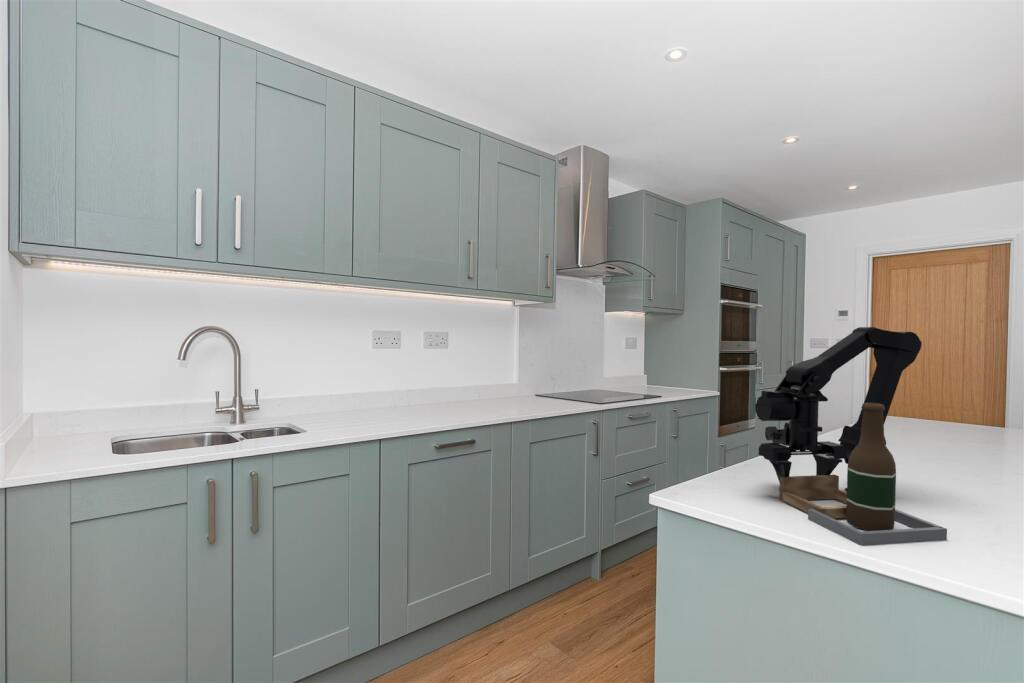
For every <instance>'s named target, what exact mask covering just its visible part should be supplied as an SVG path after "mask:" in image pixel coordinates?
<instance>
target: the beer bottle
mask: <svg viewBox="0 0 1024 683" xmlns="http://www.w3.org/2000/svg"><path fill="white" fill-rule="evenodd" d="M862 409H863V417H862V427H861V436H860V440H859V444H858V445H857V446H856V447H855V448H854V450H853V451H852V452H851V455H850V457H849V460H848V464H847V472H846V473H847V476H846V477H847V478H846V488H847V491H846V492H847V503H846V506H847V507H846V515H847V518H846V522H847V524H849V525H850V526H851V527H853V528H855V529H857V530H861V531H880V530H894V528H895V522H896V521H895V509H896V487H897V470H896V469H897V466H896V461H895V459H894V457H893V454H892V453H891V451H890V449H889V448H888V447H887V443H886V444H885V440H886V438H885V439H884V436H885V427H884V426H885V423H884V422H883V411H884V410H885V408H884V405H882V404H879V403H864V402H863V403H862V405H861V410H862Z"/></svg>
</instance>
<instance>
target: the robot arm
mask: <svg viewBox="0 0 1024 683" xmlns="http://www.w3.org/2000/svg"><path fill="white" fill-rule="evenodd" d="M867 349H873V357H874V360H875V364H876V367H875V370H874V372H873V375H872V378H871V381H870V383H869V384H870V385H869V386H868V390H867V392H866V396H865V399H864V401H863V404H864V403H879V404H882V405H884V408H885V410H884V411H883V422H884V424H885V423H886V419H887V417H888V414H889V411H890V408H891V405H892V403H893V400H894V396H895V393H896V391H897V388H898V386H899V382H900V380H901V376H902V373H903V371H904V370H906V369H907V368H908V367H909V366H910V365H912V364H913V363H914V362H915V360H916V359H917V356H918V355H919V353H920V351H921V349H922V341H921V339H920V337H919V336H918V335H917V334H916V333H915V332H913V331H892V330H886V329H885V330H884V329H881V328H878V327H875V326H866V327H865V326H861V327H860V326H859V327H857V328H855V329H853V330H852V332H851V333H849V334H848V335H847V336H845V337H843V338H842V339H841V340H839V341H838V342H836V343H834V344H833V345H832V346H830V347H829V348H828V349H826V350H825V351H823V352H822V353H820V354H819V355H817V356H815V357H812V358H811V359H810V358H809V359H805V360H802V361H799V362H798V363H796V364H793V365H791V366H790V367H788V368H787V369H786V371H785V376H784V377H783V378H782V380H781V381H780V382H779V384H778V386H777V387H776V389H775V390H774V391H770V390H762V391H761V396H759V397H758V398H757V400H756V403H755V404H754V405H755V407H754V409H755V413H756V416H757V417H758V419H759V420H761V421H762V422H785V421H786V422H785V424H784V425H783V426H784V427H783V428H782V429H778V428H777V426H774V425H773V426H766V427H765V430H764V436H765V440H766V441H771V442H762V443H761V444H760V445H759V446H758V456H761V457H763V459H765V460H768V461H769V463H770V464H771V465H772V467H773V469H774V472H775V474H776V477H777V479H778V482H779V484H780V477H788V476H790V474H791V468H792V461H790V460H791V458H792V456H808V455H809V456H810V455H812V456H813V459H814V460H815V464H816V465H815V466H816V467H815V468H816V472H815V474H816V475H832V473H833V472H834V470H835V469H836V468H837V467H838V465H839V464H841V463H843V460H844V462H845V464H847V465H848V460H849V457H850V455H851V452H852V451H853V450H854V448H855V447H856V446H857V445H858V444H859V440H860V436H861V427H862V417H863V409H862V408H861V410H860V413H859V416H858V419H857V421H856V422H854V423H853V425H850V426H848V425H844V427H843V428H842V433H841V436H840V438H839V439H838V440H837V441H838V442H839V443H836V442H832V441H828V440H827V441H818V438H819V436H818V434H819V432H823V426H819V402H828V401H829V398H827V397H826V396H825V395H824V394H823V393H822V391H821V390H822V389H823V388H824V387H825V386H826V385H827V384H828V383H829V382H831V379H832V376H833V374H834V373H835V372H836V371H837V370H839V369H840V368H841V367H843V366H844V365H846V364H847V363H849V362H850V361H851V360H853V359H854V358H856V357H858V356H859V355H860V354H862V353H863V352H865V351H867ZM788 421H789V422H788ZM884 439H885V444H886V445H887V440H886V437H885V435H884ZM844 491H845V492H847V487H845V488H844Z"/></svg>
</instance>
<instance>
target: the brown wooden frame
mask: <svg viewBox="0 0 1024 683" xmlns="http://www.w3.org/2000/svg"><path fill="white" fill-rule="evenodd" d="M839 483H840V476H839V475H837V474H830V475H794V476H793V475H792V476H790V475H789V476H788V477H780V483H779V492H778V493H779V494H778V495H779V497H778V498H779V500H781V501H783V502H784V503H787V504H789V505H790V506H793V507H795V508H797V509H799V510H801V511H804V512H806V513H807V514H808V509H814V510H816V511H818V512H820V513H823V514H825V515H827V516H829V517H831V518H833V519H844V518H845V519H847V515H846V507H847V505H841V506H839V505H838V506H835V505H834V506H820V505H818V504H816V503H814V502H812V501H809V500H828V499H831V500H832V499H835V500H836V501H837V500H838V501H840V502H841V503H845V504H847V491H845V490H841V489H839V488H840V486H839V485H840V484H839Z"/></svg>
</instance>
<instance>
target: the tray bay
mask: <svg viewBox="0 0 1024 683" xmlns="http://www.w3.org/2000/svg"><path fill="white" fill-rule="evenodd" d="M807 519H808V520H809V521H811V522H813V523H816V524H817V525H819V526H821V527H823V528H825V529H827V530H830V531H831V532H833V533H835V534H838V535H839V536H842V537H844V538H845V539H848V540H850V541H852V542H853V543H855V544H858V545H860V546H873V545H874V546H875V545H885V544H901V543H902V544H903V543H904V544H905V543H916V542H917V543H918V542H931V541H932V542H933V541H947V540H948V538H947V537H948V528H945V527H943V526H941V525H938V524H935V523H932V522H930V521H927V520H925V519H922V518H920V517H917V516H916V515H915V516H914V515H912V514H910V513H906V512H904V511H902V510H899V509H896V508H895V521H894V522H897V523H899V524H901V525H904V526H906V527H909V528H901V529H893V530H880V531H865V530H863V531H862V530H860V529H858V528H856V527H854V526H852V525H848V524H846V523H844V522H842V521H839V520H837V519H836V518H831V517H829V516H827V515H825V514H823V513H820V512H818V511H816V510H814V509H808V513H807Z"/></svg>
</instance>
